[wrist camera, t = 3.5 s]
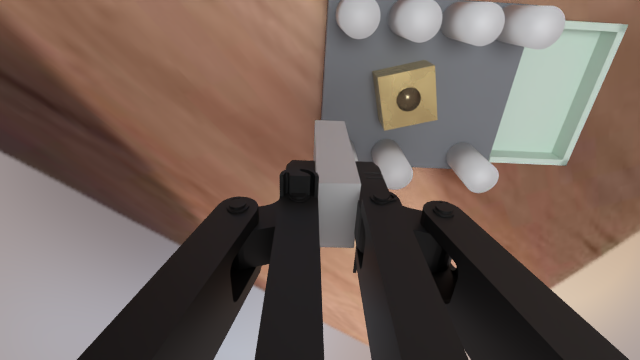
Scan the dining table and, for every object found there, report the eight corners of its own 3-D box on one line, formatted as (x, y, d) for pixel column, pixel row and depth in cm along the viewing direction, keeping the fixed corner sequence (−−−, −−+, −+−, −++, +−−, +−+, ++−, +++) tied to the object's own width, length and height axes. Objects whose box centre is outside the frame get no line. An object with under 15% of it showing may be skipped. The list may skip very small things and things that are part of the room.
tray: (479, 153, 36) (488, 162, 34) (520, 17, 30) (534, 18, 28) (552, 156, 36) (566, 165, 34) (607, 23, 30) (628, 24, 28)
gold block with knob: (378, 120, 32) (384, 131, 29) (372, 71, 30) (377, 77, 27) (427, 110, 31) (437, 120, 29) (424, 59, 29) (435, 65, 27)
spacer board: (318, 155, 36) (320, 187, 29) (328, -8, 28) (332, -10, 22) (476, 161, 36) (510, 195, 30) (524, 4, 29) (580, 6, 23)
